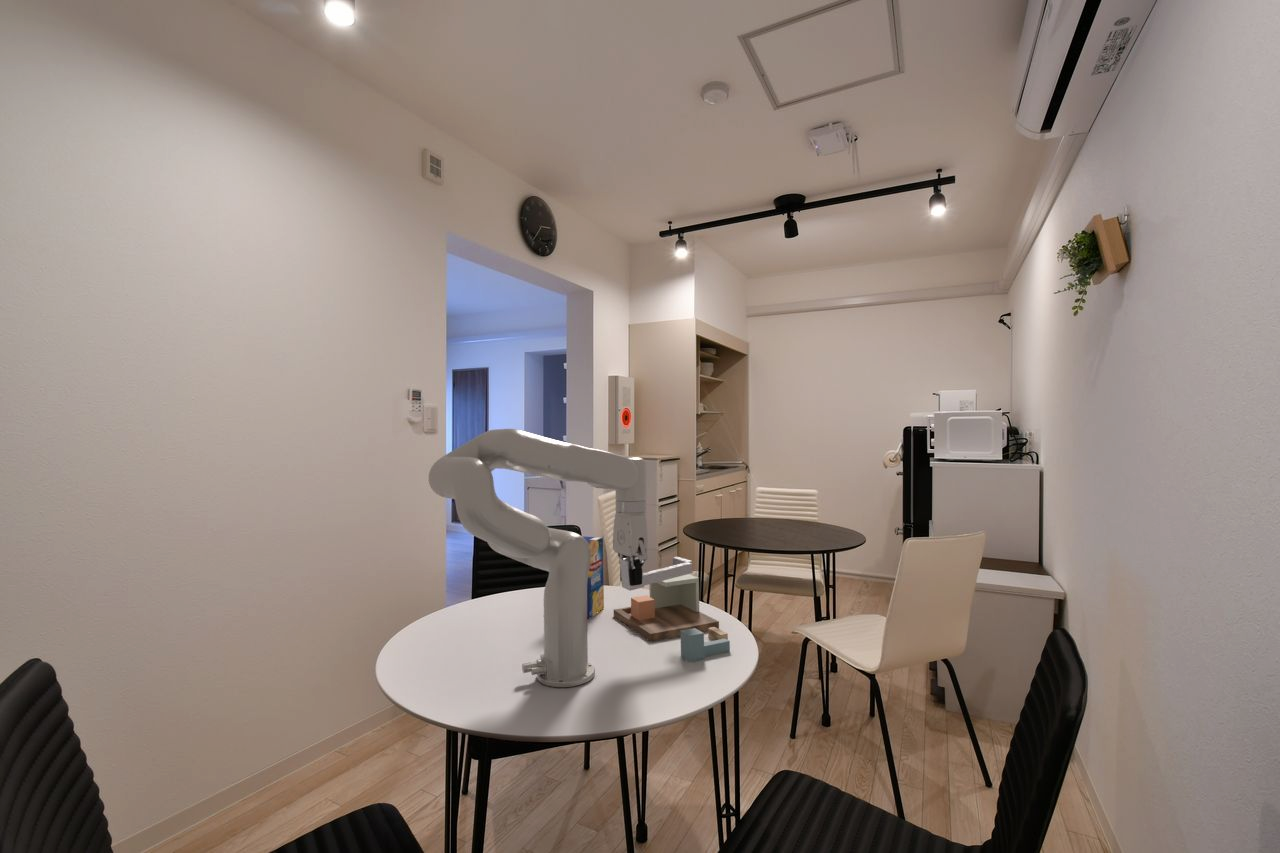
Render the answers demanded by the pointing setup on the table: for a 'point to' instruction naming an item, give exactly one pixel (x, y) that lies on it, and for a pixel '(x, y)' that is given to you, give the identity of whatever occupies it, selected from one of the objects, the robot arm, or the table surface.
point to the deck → (667, 622)
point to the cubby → (676, 592)
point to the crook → (655, 572)
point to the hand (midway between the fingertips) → (631, 582)
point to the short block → (717, 634)
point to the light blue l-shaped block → (700, 645)
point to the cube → (642, 607)
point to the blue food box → (595, 577)
